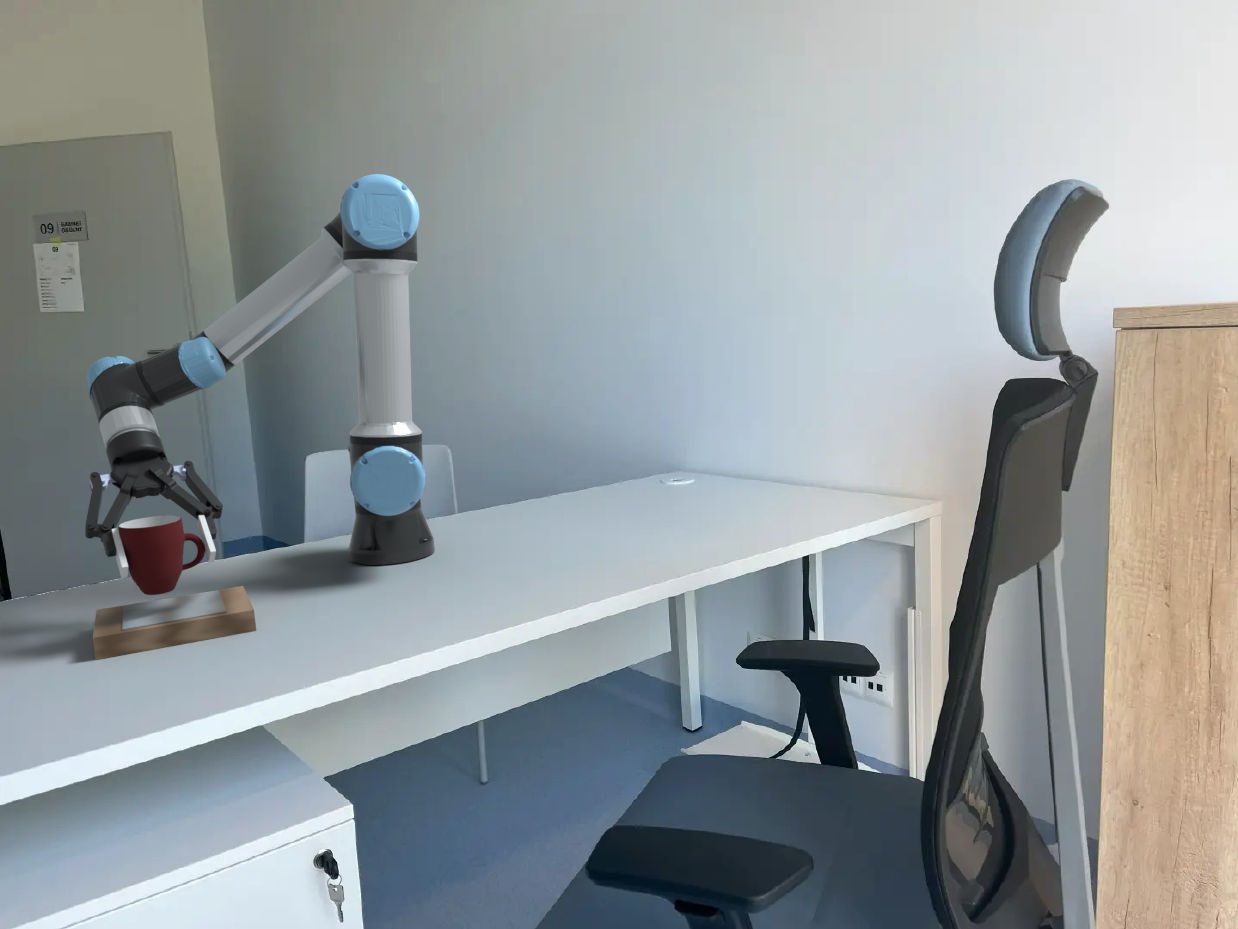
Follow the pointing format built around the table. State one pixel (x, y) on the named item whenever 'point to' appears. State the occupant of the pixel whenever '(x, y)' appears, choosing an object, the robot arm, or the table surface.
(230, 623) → the plinth
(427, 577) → the table surface
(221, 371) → the robot arm
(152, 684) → the table surface
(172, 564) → the mug
